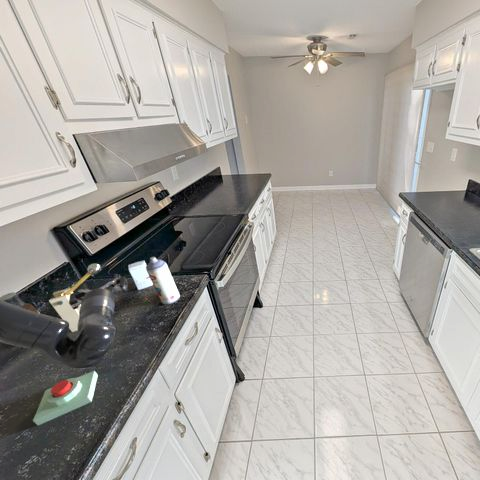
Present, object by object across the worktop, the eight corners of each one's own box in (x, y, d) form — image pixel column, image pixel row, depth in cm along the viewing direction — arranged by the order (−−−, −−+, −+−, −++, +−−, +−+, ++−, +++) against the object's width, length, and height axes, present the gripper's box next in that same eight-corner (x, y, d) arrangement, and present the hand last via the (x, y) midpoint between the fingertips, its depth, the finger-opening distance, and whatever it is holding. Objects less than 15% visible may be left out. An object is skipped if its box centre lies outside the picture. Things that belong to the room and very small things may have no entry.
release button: (73, 381, 70) (70, 377, 69) (70, 392, 67) (66, 388, 66) (56, 388, 68) (53, 384, 68) (52, 400, 66) (48, 396, 65)
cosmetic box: (139, 292, 109) (127, 269, 104) (138, 287, 113) (127, 264, 107) (155, 286, 112) (144, 264, 106) (154, 282, 116) (144, 259, 110)
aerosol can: (158, 300, 104) (139, 259, 94) (175, 291, 108) (158, 251, 99) (165, 307, 100) (145, 265, 90) (182, 297, 104) (165, 256, 95)
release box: (98, 375, 75) (91, 366, 73) (91, 401, 68) (84, 393, 66) (49, 395, 71) (41, 386, 69) (37, 425, 64) (28, 417, 62)
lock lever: (104, 265, 90) (94, 259, 88) (103, 270, 88) (91, 264, 85) (66, 300, 89) (54, 295, 87) (63, 306, 86) (51, 301, 84)
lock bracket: (100, 315, 98) (79, 283, 90) (96, 329, 92) (73, 295, 84) (70, 325, 94) (46, 292, 87) (64, 340, 88) (37, 306, 81)
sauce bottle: (48, 330, 93) (14, 287, 83) (61, 332, 92) (28, 289, 82) (27, 345, 87) (-13, 301, 78) (40, 347, 86) (2, 303, 77)
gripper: (121, 287, 75) (121, 263, 87) (58, 308, 68) (68, 280, 80) (132, 306, 78) (131, 281, 90) (73, 328, 72) (80, 298, 84)
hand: (101, 281), depth 85 cm, fingers open, 8 cm apart
